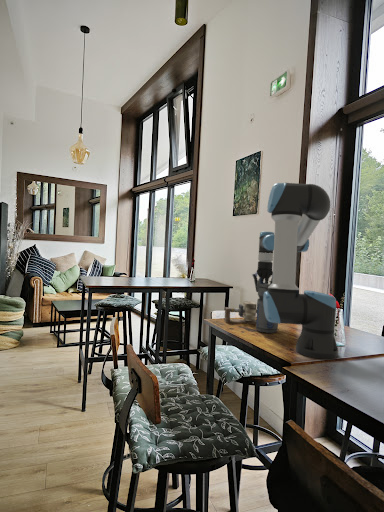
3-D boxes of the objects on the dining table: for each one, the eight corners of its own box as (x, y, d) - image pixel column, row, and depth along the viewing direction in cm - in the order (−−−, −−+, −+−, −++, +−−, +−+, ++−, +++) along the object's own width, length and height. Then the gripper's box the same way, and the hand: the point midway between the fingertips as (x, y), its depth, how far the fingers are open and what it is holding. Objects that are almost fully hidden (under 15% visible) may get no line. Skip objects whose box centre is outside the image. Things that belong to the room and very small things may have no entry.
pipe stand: (264, 321, 184) (265, 308, 184) (268, 324, 177) (269, 311, 177) (224, 319, 183) (224, 306, 183) (226, 322, 176) (226, 309, 176)
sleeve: (251, 317, 185) (252, 301, 184) (255, 321, 176) (256, 304, 176) (242, 317, 184) (243, 301, 184) (245, 320, 176) (246, 303, 176)
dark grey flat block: (240, 314, 183) (241, 304, 183) (242, 317, 177) (243, 306, 177) (238, 314, 183) (239, 304, 183) (240, 316, 177) (241, 306, 177)
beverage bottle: (285, 334, 158) (289, 280, 157) (257, 333, 157) (260, 279, 156) (278, 329, 168) (281, 278, 168) (251, 328, 167) (254, 277, 166)
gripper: (275, 261, 184) (272, 305, 184) (251, 260, 183) (248, 304, 184) (279, 262, 176) (276, 307, 177) (254, 260, 176) (251, 306, 176)
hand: (262, 306), depth 180 cm, fingers closed
